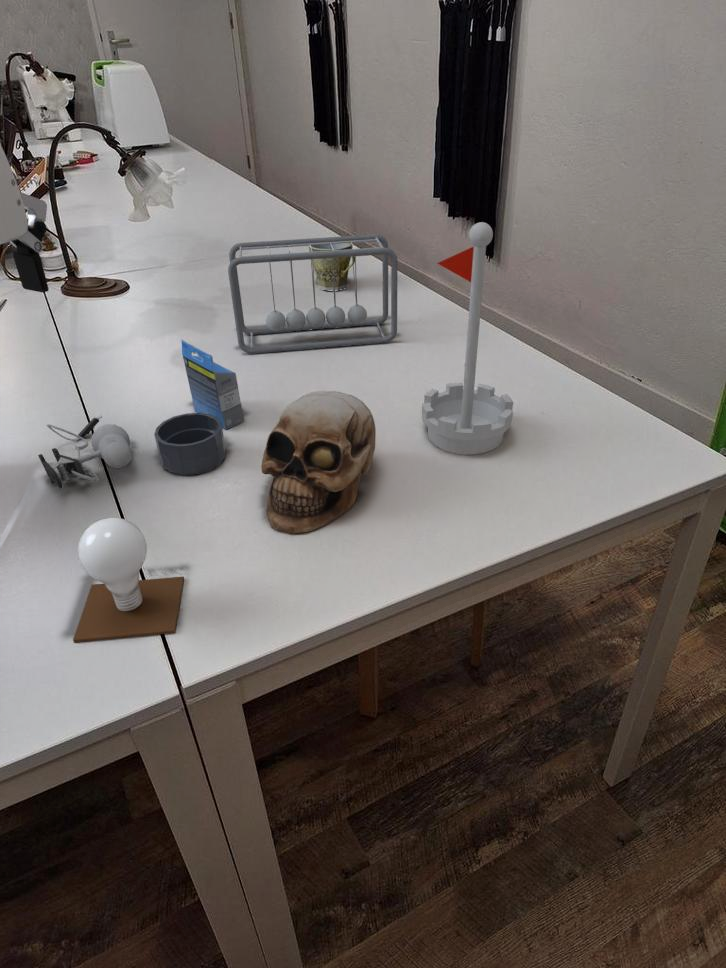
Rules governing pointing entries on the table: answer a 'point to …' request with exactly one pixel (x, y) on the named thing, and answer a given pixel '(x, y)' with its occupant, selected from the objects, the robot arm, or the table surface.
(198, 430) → the basin
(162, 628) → the mat
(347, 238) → the newton's cradle
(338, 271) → the ceramic cup
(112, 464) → the clip-on lamp
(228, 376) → the label tape box
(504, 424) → the flag stand
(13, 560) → the table surface
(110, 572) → the lightbulb
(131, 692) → the table surface
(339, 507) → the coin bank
